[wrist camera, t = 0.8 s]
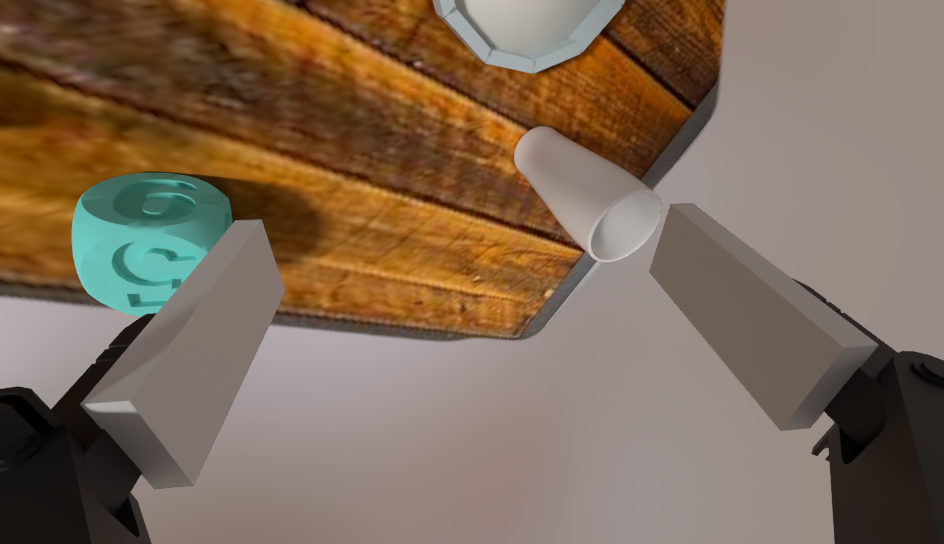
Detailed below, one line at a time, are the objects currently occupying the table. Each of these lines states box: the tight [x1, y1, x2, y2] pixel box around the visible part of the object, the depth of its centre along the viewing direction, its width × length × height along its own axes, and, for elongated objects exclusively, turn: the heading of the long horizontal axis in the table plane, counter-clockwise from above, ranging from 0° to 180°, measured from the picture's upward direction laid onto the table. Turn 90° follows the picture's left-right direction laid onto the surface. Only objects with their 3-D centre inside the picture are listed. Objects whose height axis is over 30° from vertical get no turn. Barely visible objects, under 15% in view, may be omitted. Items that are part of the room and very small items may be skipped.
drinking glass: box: [514, 126, 662, 262], centre depth 36 cm, size 7×7×15 cm
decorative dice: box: [72, 173, 233, 317], centre depth 30 cm, size 8×8×8 cm
